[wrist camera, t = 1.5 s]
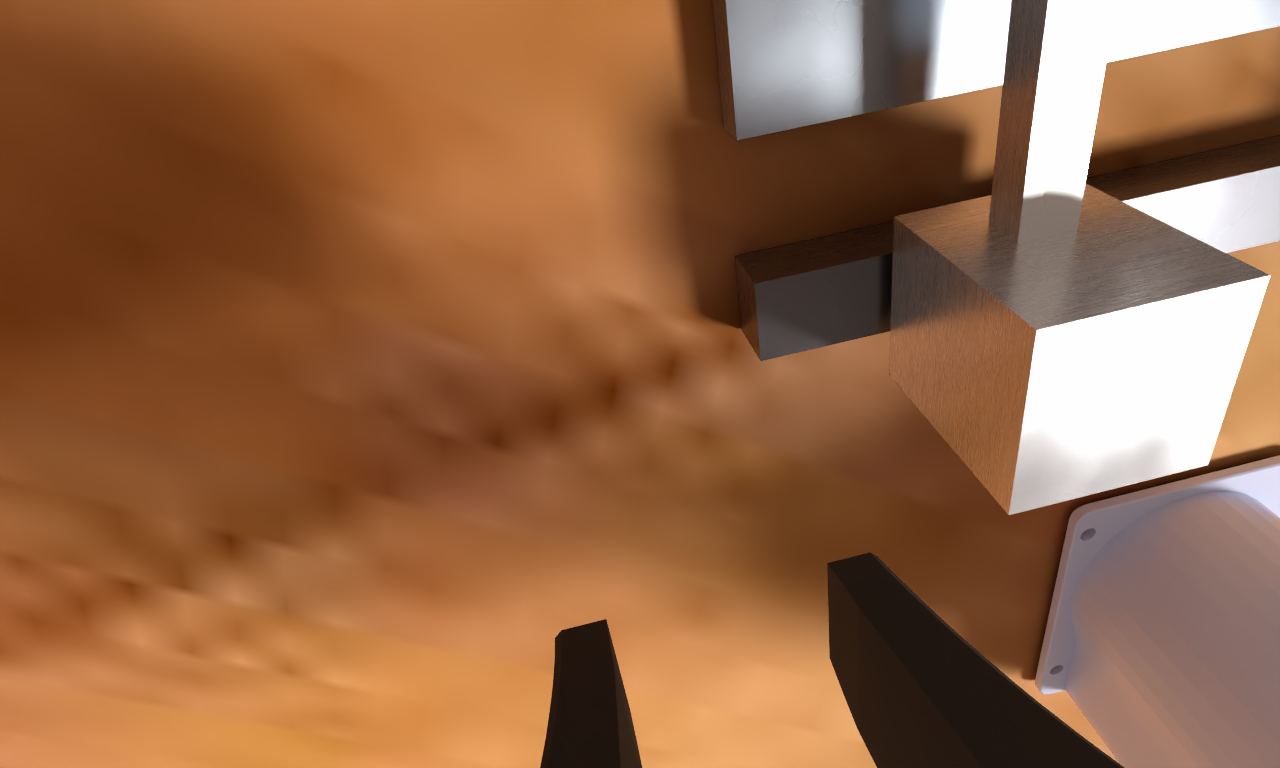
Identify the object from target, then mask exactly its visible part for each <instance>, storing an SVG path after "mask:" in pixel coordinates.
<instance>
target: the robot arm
mask: <svg viewBox="0 0 1280 768" xmlns="http://www.w3.org/2000/svg"><path fill="white" fill-rule="evenodd" d="M828 605H829V646H830V660H831V662H832V665H833V667H834V670H835V673H836V675H837V678H838V680H839V683H840V686H841V688H842V691H843V694H844V696H845V699H846V701H847V704H848V706H849V709H850V711H851V714H852V716H853V719H854V721H855V724H856V726H857V729H858V731H859V733H860V735H861V737H862V739H863V741H864V743H865V745H866V747H867V748H868V750H869V752H870V754H871V756H872V758H873V760H874V762H875V764H876V766H877V768H1280V455H1279V456H1275V457H1271V458H1267V459H1263V460H1259V461H1255V462H1251V463H1247V464H1243V465H1239V466H1235V467H1231V468H1227V469H1223V470H1219V471H1215V472H1211V473H1208V474H1204V475H1200V476H1196V477H1192V478H1188V479H1184V480H1180V481H1176V482H1172V483H1168V484H1164V485H1160V486H1156V487H1152V488H1148V489H1144V490H1140V491H1136V492H1132V493H1128V494H1125V495H1121V496H1117V497H1113V498H1109V499H1105V500H1101V501H1097V502H1093V503H1089V504H1085V505H1082V506H1080V507H1078V508H1077V509H1076V510H1074V512H1073V513H1072V514H1071V516H1070V518H1069V522H1068V527H1067V532H1066V536H1065V541H1064V546H1063V551H1062V555H1061V560H1060V565H1059V570H1058V574H1057V579H1056V584H1055V589H1054V593H1053V598H1052V603H1051V608H1050V612H1049V617H1048V622H1047V627H1046V631H1045V636H1044V641H1043V646H1042V650H1041V655H1040V660H1039V664H1038V669H1037V674H1036V679H1035V685H1036V687H1037V688H1038V690H1039V691H1040V692H1041V693H1043V694H1052V693H1055V692H1059V691H1063V690H1066V691H1067V692H1068V694H1069V695H1070V696H1071V698H1072V699H1073V700H1074V702H1075V703H1076V705H1077V706H1078V707H1079V709H1080V710H1081V711H1082V713H1083V714H1084V715H1085V717H1086V718H1087V719H1088V721H1089V722H1090V723H1091V725H1092V726H1093V728H1094V729H1095V730H1096V732H1097V733H1098V734H1099V736H1100V737H1101V738H1102V740H1103V741H1104V742H1105V744H1106V745H1107V747H1108V748H1109V749H1110V751H1111V752H1112V753H1113V755H1114V756H1115V757H1116V759H1117V760H1118V761H1119V763H1120V764H1121V765H1120V764H1119V763H1117V762H1116V761H1115V760H1113V759H1112V758H1111V757H1109V756H1108V755H1106V754H1105V753H1104V752H1102V751H1101V750H1100V749H1098V748H1097V747H1096V746H1094V745H1093V744H1092V743H1090V742H1089V741H1088V740H1086V739H1085V738H1084V737H1082V736H1081V735H1080V734H1078V733H1077V732H1076V731H1074V730H1073V729H1072V728H1071V727H1069V726H1068V725H1067V724H1065V723H1064V722H1063V721H1062V720H1060V719H1059V718H1058V717H1057V716H1055V715H1054V714H1053V713H1051V712H1050V711H1049V710H1048V709H1046V708H1045V707H1044V706H1042V705H1041V704H1040V703H1039V702H1037V701H1036V700H1035V699H1034V698H1033V697H1031V696H1030V695H1029V694H1028V693H1026V692H1025V691H1024V690H1023V689H1022V688H1020V687H1019V686H1018V685H1017V684H1015V683H1014V682H1013V681H1012V680H1011V679H1010V678H1008V677H1007V676H1006V675H1005V674H1004V673H1003V672H1001V671H1000V670H999V669H998V668H997V667H996V666H994V665H993V664H992V663H991V662H990V661H989V660H987V659H986V658H985V657H984V656H983V655H982V654H980V653H979V652H978V651H977V650H976V649H974V648H973V647H972V646H971V645H970V644H969V643H968V642H967V641H965V640H964V639H963V638H962V637H961V636H960V635H959V634H958V633H956V632H955V631H954V630H953V629H952V628H951V627H950V626H949V625H948V624H947V623H946V622H944V621H943V620H942V619H941V618H940V617H939V616H938V615H937V614H936V613H935V612H934V611H933V610H931V609H930V608H929V607H928V606H927V605H926V604H925V603H924V602H923V601H922V600H921V599H920V598H919V597H918V596H917V595H916V594H915V593H913V592H912V591H911V590H910V589H909V588H908V587H907V586H906V585H905V584H904V583H903V582H902V581H901V580H900V579H899V578H898V577H897V576H896V575H895V574H894V573H893V572H892V571H891V570H890V569H889V568H888V567H887V566H886V565H885V564H884V563H883V562H882V561H881V560H880V559H879V558H878V557H877V556H875V555H873V554H872V553H866V554H862V555H858V556H855V557H851V558H847V559H843V560H839V561H835V562H831V563H828ZM540 768H642V765H641V760H640V755H639V750H638V745H637V741H636V736H635V731H634V726H633V722H632V717H631V712H630V708H629V704H628V700H627V697H626V693H625V689H624V685H623V681H622V678H621V674H620V670H619V666H618V662H617V659H616V655H615V651H614V647H613V643H612V640H611V636H610V632H609V628H608V624H607V621H606V619H605V620H601V621H597V622H593V623H589V624H585V625H581V626H577V627H573V628H569V629H565V630H562V631H561V632H560V633H559V634H558V635H557V637H556V638H555V665H554V679H553V689H552V698H551V706H550V713H549V720H548V727H547V734H546V740H545V746H544V751H543V756H542V762H541V767H540Z"/></svg>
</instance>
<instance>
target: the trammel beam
mask: <svg viewBox="0 0 1280 768" xmlns="http://www.w3.org/2000/svg"><path fill="white" fill-rule="evenodd" d="M1085 183H1086V184H1088V185H1090V186H1092V187H1094V188H1096V189H1098V190H1100V191H1102V192H1104V193H1106V194H1108V195H1110V196H1112V197H1114V198H1116V199H1118V200H1120V201H1122V202H1124V203H1126V204H1128V205H1130V206H1132V207H1134V208H1136V209H1138V210H1140V211H1142V212H1144V213H1146V214H1148V215H1150V216H1152V217H1154V218H1156V219H1158V220H1160V221H1162V222H1164V223H1166V224H1168V225H1170V226H1172V227H1174V228H1176V229H1178V230H1180V231H1182V232H1184V233H1186V234H1188V235H1190V236H1192V237H1194V238H1196V239H1198V240H1200V241H1202V242H1204V243H1206V244H1208V245H1210V246H1212V247H1214V248H1216V249H1218V250H1220V251H1222V252H1224V253H1229V252H1233V251H1237V250H1241V249H1246V248H1250V247H1254V246H1259V245H1263V244H1267V243H1272V242H1276V241H1280V136H1276V137H1271V138H1267V139H1262V140H1258V141H1253V142H1249V143H1244V144H1240V145H1235V146H1231V147H1226V148H1222V149H1217V150H1213V151H1208V152H1204V153H1199V154H1194V155H1190V156H1185V157H1181V158H1176V159H1172V160H1167V161H1163V162H1158V163H1154V164H1149V165H1145V166H1140V167H1136V168H1131V169H1127V170H1122V171H1118V172H1113V173H1109V174H1104V175H1100V176H1095V177H1091V178H1086V182H1085ZM893 234H894V221H892V222H888V223H883V224H879V225H874V226H869V227H865V228H860V229H856V230H851V231H847V232H842V233H838V234H833V235H829V236H824V237H820V238H815V239H811V240H806V241H802V242H797V243H793V244H788V245H784V246H779V247H775V248H770V249H766V250H761V251H757V252H752V253H748V254H743V255H739V256H735V260H736V271H737V283H738V294H739V305H740V316H741V327H742V331H743V333H744V335H745V336H746V338H747V339H748V341H749V343H750V344H751V346H752V348H753V349H754V351H755V353H756V354H757V356H758V358H759V359H760V361H763V360H767V359H771V358H776V357H780V356H784V355H789V354H793V353H797V352H802V351H806V350H810V349H815V348H819V347H823V346H827V345H832V344H836V343H840V342H845V341H849V340H853V339H858V338H862V337H866V336H871V335H875V334H879V333H884V332H888V331H890V328H891V296H892V265H893Z"/></svg>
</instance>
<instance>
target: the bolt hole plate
mask: <svg viewBox="0 0 1280 768" xmlns="http://www.w3.org/2000/svg"><path fill="white" fill-rule="evenodd" d="M1011 1H1012V0H712V4H713V15H714V27H715V38H716V49H717V60H718V71H719V82H720V93H721V105H722V116H723V127H724V128H725V129H726V130H727V131H728V132H729V133H730V134H731V135H732V136H733V137H734V138H735V139H736V140H741V139H746V138H751V137H756V136H760V135H765V134H770V133H775V132H779V131H784V130H789V129H794V128H798V127H803V126H808V125H813V124H817V123H822V122H827V121H832V120H836V119H841V118H846V117H851V116H855V115H860V114H865V113H869V112H874V111H879V110H884V109H888V108H893V107H898V106H903V105H907V104H912V103H917V102H922V101H926V100H931V99H936V98H941V97H945V96H950V95H955V94H960V93H964V92H969V91H974V90H979V89H983V88H988V87H993V86H998V85H1002V84H1003V78H1004V68H1005V59H1006V49H1007V39H1008V30H1009V20H1010V10H1011ZM1278 26H1280V0H1117V1H1116V7H1115V13H1114V19H1113V24H1112V30H1111V36H1110V42H1109V48H1108V54H1107V59H1106V63H1107V62H1111V61H1116V60H1121V59H1126V58H1130V57H1135V56H1140V55H1145V54H1149V53H1154V52H1159V51H1164V50H1168V49H1173V48H1178V47H1183V46H1187V45H1192V44H1197V43H1202V42H1206V41H1211V40H1216V39H1221V38H1225V37H1230V36H1235V35H1240V34H1244V33H1249V32H1254V31H1259V30H1263V29H1268V28H1273V27H1278Z"/></svg>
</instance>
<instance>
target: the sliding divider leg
mask: <svg viewBox="0 0 1280 768" xmlns="http://www.w3.org/2000/svg"><path fill="white" fill-rule="evenodd" d="M1116 1H1117V0H1012V1H1011V10H1010V20H1009V30H1008V39H1007V49H1006V59H1005V68H1004V78H1003V88H1002V97H1001V107H1000V117H999V127H998V136H997V146H996V156H995V165H994V175H993V185H992V194H991V195H989V196H985V197H980V198H976V199H971V200H966V201H962V202H957V203H953V204H948V205H944V206H939V207H935V208H930V209H926V210H921V211H917V212H912V213H908V214H903V215H899V216H894V234H893V265H892V296H891V328H890V359H889V375H890V376H891V377H892V378H893V380H894V381H895V382H896V383H897V384H898V386H899V387H900V388H901V389H902V390H903V391H904V393H905V394H906V395H907V396H908V397H909V399H910V400H911V401H912V402H913V403H914V404H915V406H916V407H917V408H918V409H919V410H920V411H921V413H922V414H923V415H924V416H925V417H926V419H927V420H928V421H929V422H930V423H931V424H932V426H933V427H934V428H935V429H936V430H937V431H938V433H939V434H940V435H941V436H942V437H943V439H944V440H945V441H946V442H947V443H948V444H949V446H950V447H951V448H952V449H953V450H954V451H955V453H956V454H957V455H958V456H959V457H960V459H961V460H962V461H963V462H964V463H965V464H966V466H967V467H968V468H969V469H970V470H971V472H972V473H973V474H974V475H975V476H976V477H977V479H978V480H979V481H980V482H981V483H982V484H983V486H984V487H985V488H986V489H987V490H988V492H989V493H990V494H991V495H992V496H993V497H994V499H995V500H996V501H997V502H998V503H999V504H1000V506H1001V507H1002V508H1003V509H1004V510H1005V512H1006V513H1007V514H1008V515H1012V514H1016V513H1020V512H1024V511H1028V510H1032V509H1036V508H1040V507H1044V506H1048V505H1052V504H1056V503H1060V502H1064V501H1068V500H1072V499H1076V498H1080V497H1084V496H1088V495H1091V494H1095V493H1099V492H1103V491H1107V490H1111V489H1115V488H1119V487H1123V486H1127V485H1131V484H1135V483H1139V482H1143V481H1147V480H1151V479H1155V478H1159V477H1163V476H1167V475H1171V474H1175V473H1179V472H1183V471H1187V470H1191V469H1195V468H1199V467H1203V466H1206V465H1208V464H1209V461H1210V458H1211V455H1212V452H1213V449H1214V445H1215V442H1216V439H1217V436H1218V433H1219V430H1220V427H1221V424H1222V421H1223V418H1224V415H1225V412H1226V409H1227V406H1228V403H1229V400H1230V397H1231V394H1232V391H1233V388H1234V385H1235V382H1236V378H1237V375H1238V372H1239V369H1240V366H1241V363H1242V360H1243V357H1244V354H1245V351H1246V348H1247V345H1248V342H1249V339H1250V336H1251V333H1252V330H1253V327H1254V324H1255V321H1256V318H1257V314H1258V311H1259V308H1260V305H1261V302H1262V299H1263V296H1264V293H1265V290H1266V287H1267V284H1268V281H1269V278H1270V275H1268V274H1266V273H1264V272H1262V271H1260V270H1258V269H1256V268H1254V267H1252V266H1250V265H1248V264H1246V263H1244V262H1242V261H1240V260H1238V259H1236V258H1234V257H1232V256H1230V255H1228V254H1226V253H1224V252H1222V251H1220V250H1218V249H1216V248H1214V247H1212V246H1210V245H1208V244H1206V243H1204V242H1202V241H1200V240H1198V239H1196V238H1194V237H1192V236H1190V235H1188V234H1186V233H1184V232H1182V231H1180V230H1178V229H1176V228H1174V227H1172V226H1170V225H1168V224H1166V223H1164V222H1162V221H1160V220H1158V219H1156V218H1154V217H1152V216H1150V215H1148V214H1146V213H1144V212H1142V211H1140V210H1138V209H1136V208H1134V207H1132V206H1130V205H1128V204H1126V203H1124V202H1122V201H1120V200H1118V199H1116V198H1114V197H1112V196H1110V195H1108V194H1106V193H1104V192H1102V191H1100V190H1098V189H1096V188H1094V187H1092V186H1090V185H1088V184H1086V183H1085V182H1086V176H1087V171H1088V165H1089V159H1090V153H1091V147H1092V141H1093V136H1094V130H1095V124H1096V118H1097V112H1098V106H1099V100H1100V95H1101V89H1102V83H1103V77H1104V71H1105V65H1106V59H1107V54H1108V48H1109V42H1110V36H1111V30H1112V24H1113V19H1114V13H1115V7H1116Z"/></svg>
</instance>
